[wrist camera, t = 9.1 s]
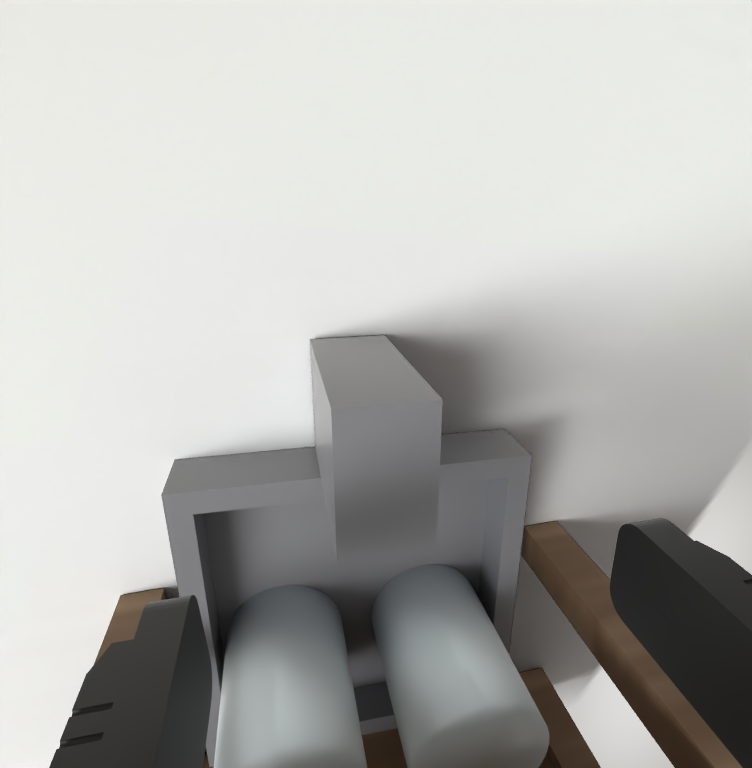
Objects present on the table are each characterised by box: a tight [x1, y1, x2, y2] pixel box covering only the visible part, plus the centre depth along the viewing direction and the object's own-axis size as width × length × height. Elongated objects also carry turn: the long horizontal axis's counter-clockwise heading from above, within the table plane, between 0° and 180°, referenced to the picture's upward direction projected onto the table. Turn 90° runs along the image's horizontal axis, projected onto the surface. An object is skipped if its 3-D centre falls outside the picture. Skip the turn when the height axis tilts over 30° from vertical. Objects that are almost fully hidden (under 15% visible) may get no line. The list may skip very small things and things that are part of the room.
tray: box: [162, 335, 549, 768], centre depth 16 cm, size 16×12×7 cm
